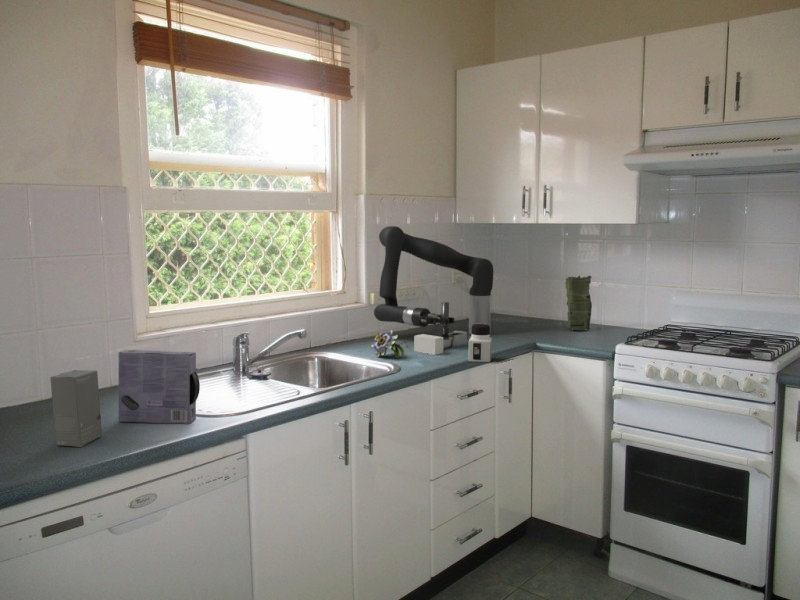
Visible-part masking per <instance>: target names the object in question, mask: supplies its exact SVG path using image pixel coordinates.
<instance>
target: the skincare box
mask: <svg viewBox="0 0 800 600" xmlns="http://www.w3.org/2000/svg"><path fill="white" fill-rule="evenodd" d="M98 376H99V375H98V370H97V369H96V370H94V369H93V370H90V369H89V370H83V369H82V370H81V369H78V370H77V369H76V370H70V371H67V372H61V373H60V374H56V375H52V376H50V380H49V381H50V389H51V400H52V403H51V404H52V412H53V424H54V435H55V445H56V446H63V447H64V446H67V447H77V448H82V447H84V446H85V445H88V444H89V443H91V442H93V441H95V440H97V439H99V438H101V437H103V433H102V429H103V428H102V420H101V406H100V405H101V403H100V402H101V401H100V393H99V391H100V390H99V389H100V388H99V377H98Z"/></svg>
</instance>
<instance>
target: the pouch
mask: <svg viewBox="0 0 800 600" xmlns="http://www.w3.org/2000/svg"><path fill="white" fill-rule="evenodd" d="M592 278H593V277H592V276H591V275H588V276H583V277H581V275H578V276H577V277H576V276H569V277H566V278H565V288H566V297H567V300H566V301H567V302H566V305H567V310H568V311H567V326H568V328H569V327H570V328H569V330H570V329H573V330H585V329H588V328H591V325H590V324H591V318H592V307H593V305H592V304H593V303H592V300H591V294H590V284H591V282H592V281H591V279H592ZM588 330H589V329H588ZM585 331H586V330H585Z"/></svg>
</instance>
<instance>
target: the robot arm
mask: <svg viewBox="0 0 800 600" xmlns="http://www.w3.org/2000/svg"><path fill="white" fill-rule="evenodd" d="M378 239H379V242H380V244H381V245H382V246H383V247H385V248H384V249H385V254H384V255H385V257H384V262H383V263H384V264H383V268H382V271H381V275H380V283H379V297H380V298H381V299H384V303H383V304H378V305H377V306H375V308H374V309H373V316H374V317H375V319H377V320H378V321H380V322H390V323H391V322H392V323H397V324H398V323H399V324H405V325H409V326H415V327H422V328H426V327H428V326H429V325H437V324H438V325H440V324H449V325H450V324H455V317H451V316H449V319H447V318H442V313H435V312H431V311H430V310H429V309H428V308H426V307H420V306H404V305H403V306H402V305H400V306H399V304H398V297H397V289H398V275H399V267H400V266H399V265H400V261H401V255H402V252H404V253H407V254H410V255H412V256H414V257H416V258H418V259H420V260H422V261H425V262H427V263H430V264H433V265H436V266H439V267H443V268H448V269H454V270H457V271H459V272H462V273H463V274H466V275H468V276H469V277H472V285H471V287H470V288H469V295H468V296H469V297H468V298H469V300H468V304H469V305H468V335H471V334H472V325H474V324H477V323H482V324H487V325H489V326H490V334H492V333H491V332H492V331H491V330H492V328H491V327H492V311H491V301H492V299H491V298H492V297H491V295H492V290H493V287H494V266H493V264H492V261H490V260H489V259H487V258H484V257H483V258H482V257H474V256H471V255H469V254H468V255H467V254H463V253H461V252H459V251H457V250H455V249H454V248H452V247H450V246H448V245H446V244H444V243H441V242H438V241H436V240H433V239H432V240H431V239H428V238H424V237H423V238H421V237H417V236H413V235H411V234H408V233H406V232H404V231H403V229H402V228H400V227H399V226H395V225H389V226H386V227H383V229H382V230H380V232H379V234H378Z"/></svg>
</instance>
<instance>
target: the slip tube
mask: <svg viewBox="0 0 800 600" xmlns="http://www.w3.org/2000/svg"><path fill="white" fill-rule="evenodd" d="M441 314H442V318H447V319H449V317H450V302H449V301H442V302H441ZM449 327H450V323H449V324H441V327H440V328H441V330H440V331H441V333H440V334H441V336H440V337H443V349H444V348H449V347H448V346H452V345H453V336H452V337H448V336H449V334H450V333H449Z"/></svg>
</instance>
